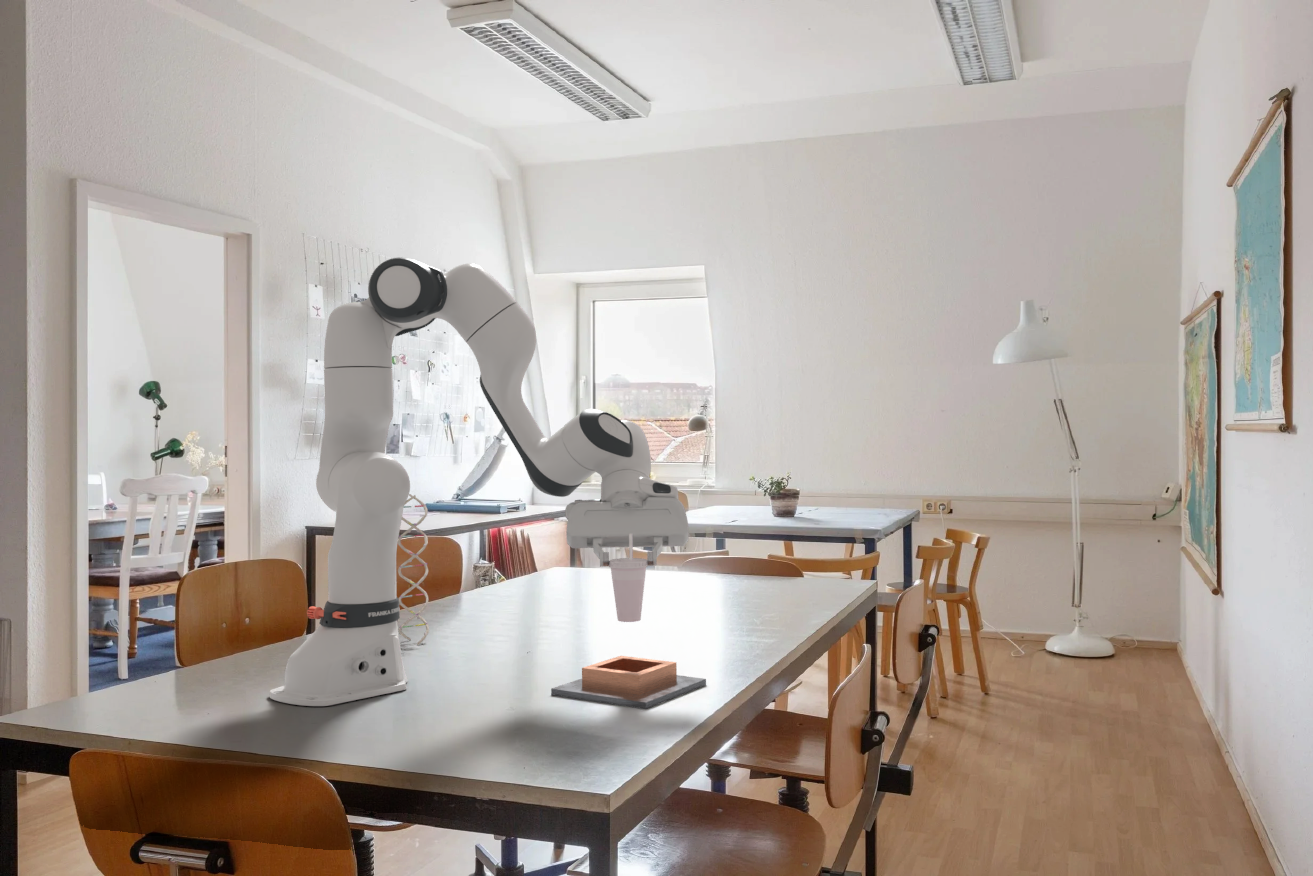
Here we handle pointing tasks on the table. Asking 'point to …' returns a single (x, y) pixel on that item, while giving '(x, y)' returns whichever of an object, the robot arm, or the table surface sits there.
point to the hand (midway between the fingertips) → (628, 563)
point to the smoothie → (628, 585)
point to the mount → (629, 682)
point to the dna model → (425, 564)
